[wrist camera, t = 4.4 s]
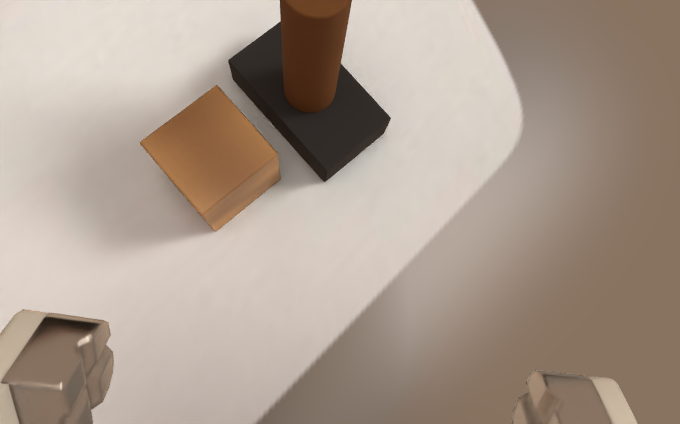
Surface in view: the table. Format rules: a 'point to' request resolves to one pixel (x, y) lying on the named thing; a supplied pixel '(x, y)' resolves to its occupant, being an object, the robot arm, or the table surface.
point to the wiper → (310, 85)
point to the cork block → (214, 157)
